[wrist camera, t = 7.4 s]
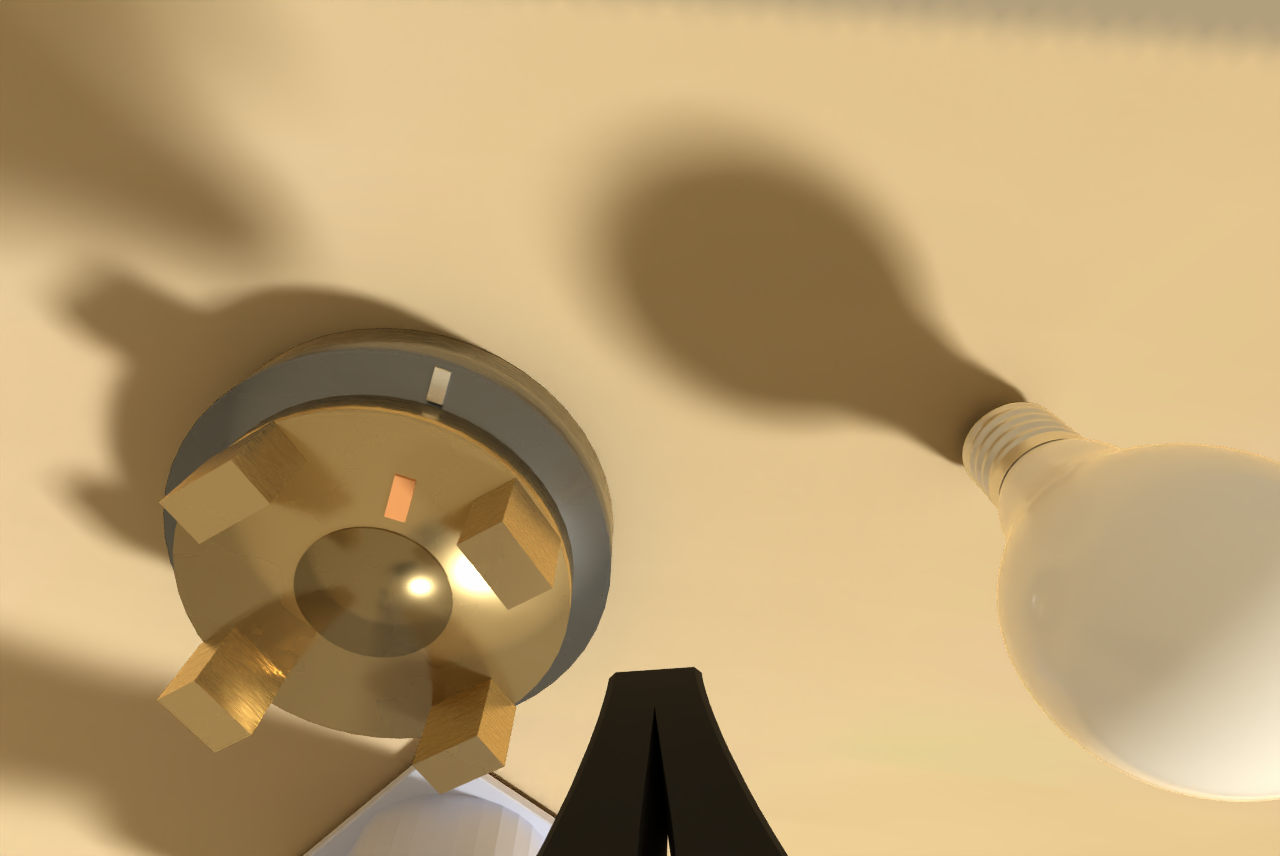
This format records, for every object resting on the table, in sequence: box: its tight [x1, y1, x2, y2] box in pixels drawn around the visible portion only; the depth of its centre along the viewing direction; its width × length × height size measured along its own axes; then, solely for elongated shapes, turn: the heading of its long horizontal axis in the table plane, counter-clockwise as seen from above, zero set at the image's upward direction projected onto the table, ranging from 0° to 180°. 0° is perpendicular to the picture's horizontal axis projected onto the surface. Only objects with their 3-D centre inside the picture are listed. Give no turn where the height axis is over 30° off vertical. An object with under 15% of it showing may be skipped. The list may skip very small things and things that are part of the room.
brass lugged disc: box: [157, 394, 574, 794], centre depth 19 cm, size 10×10×3 cm
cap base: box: [163, 328, 613, 706], centre depth 21 cm, size 12×12×2 cm
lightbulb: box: [962, 402, 1280, 802], centre depth 16 cm, size 6×6×11 cm
